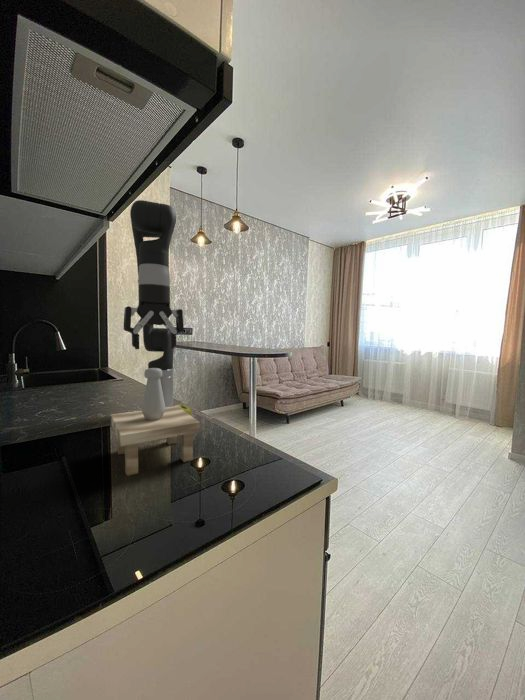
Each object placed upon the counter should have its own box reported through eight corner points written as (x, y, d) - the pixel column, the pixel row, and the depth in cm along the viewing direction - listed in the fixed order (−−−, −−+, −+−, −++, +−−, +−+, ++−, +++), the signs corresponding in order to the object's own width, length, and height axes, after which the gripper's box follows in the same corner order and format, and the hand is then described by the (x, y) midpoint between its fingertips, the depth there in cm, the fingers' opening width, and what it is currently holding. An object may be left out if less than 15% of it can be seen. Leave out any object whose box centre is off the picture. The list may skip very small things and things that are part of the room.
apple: (159, 429, 92) (165, 398, 95) (174, 429, 100) (179, 400, 102) (180, 433, 90) (186, 401, 92) (194, 433, 97) (199, 403, 99)
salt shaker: (136, 419, 75) (136, 368, 74) (155, 413, 79) (154, 366, 79) (151, 423, 72) (151, 370, 71) (170, 417, 76) (170, 368, 76)
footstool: (111, 450, 79) (110, 414, 78) (177, 438, 89) (177, 405, 88) (121, 480, 64) (120, 435, 63) (199, 460, 74) (199, 422, 73)
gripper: (126, 279, 67) (127, 350, 68) (186, 286, 74) (186, 349, 76) (121, 283, 73) (122, 348, 74) (177, 289, 81) (177, 347, 82)
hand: (154, 348), depth 75 cm, fingers open, 8 cm apart
